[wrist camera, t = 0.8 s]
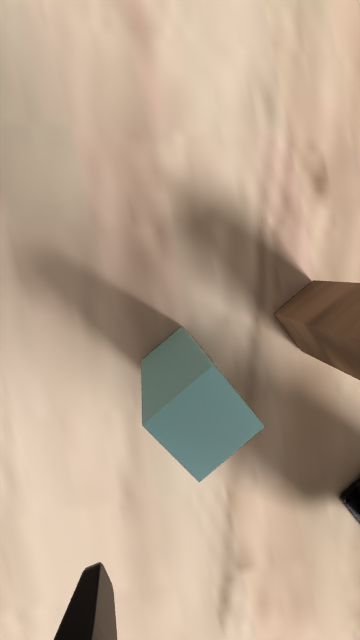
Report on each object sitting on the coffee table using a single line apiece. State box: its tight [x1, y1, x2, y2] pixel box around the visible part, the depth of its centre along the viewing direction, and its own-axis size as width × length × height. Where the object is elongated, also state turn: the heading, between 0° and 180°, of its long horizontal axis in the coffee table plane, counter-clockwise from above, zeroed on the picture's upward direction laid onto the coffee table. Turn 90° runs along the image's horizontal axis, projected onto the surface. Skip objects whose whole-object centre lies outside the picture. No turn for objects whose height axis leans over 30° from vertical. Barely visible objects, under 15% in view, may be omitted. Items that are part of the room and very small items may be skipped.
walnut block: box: [274, 280, 360, 380], centre depth 18 cm, size 4×4×9 cm
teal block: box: [141, 326, 265, 482], centre depth 17 cm, size 4×4×9 cm
